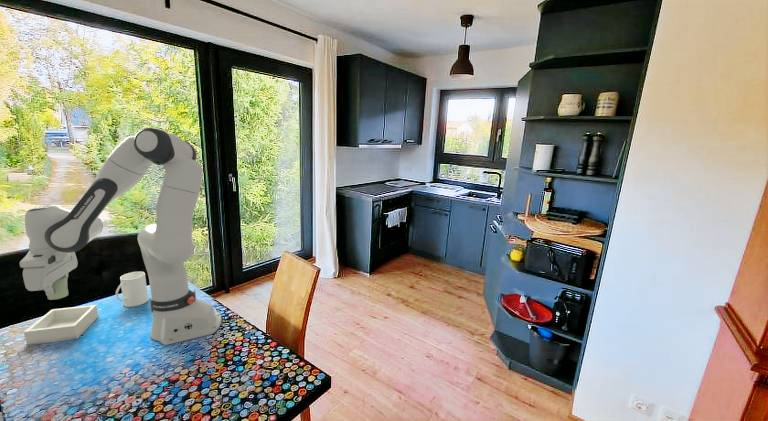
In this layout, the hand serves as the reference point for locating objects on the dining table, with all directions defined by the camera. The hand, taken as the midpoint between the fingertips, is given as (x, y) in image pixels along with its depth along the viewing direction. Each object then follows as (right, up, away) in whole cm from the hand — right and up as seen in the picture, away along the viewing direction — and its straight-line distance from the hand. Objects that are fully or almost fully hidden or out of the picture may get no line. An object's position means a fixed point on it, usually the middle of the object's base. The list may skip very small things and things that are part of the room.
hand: (57, 290), depth 106 cm
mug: (+8, -11, +22) cm, 26 cm away
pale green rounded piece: (0, -2, 0) cm, 2 cm away
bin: (-1, -15, +3) cm, 15 cm away
